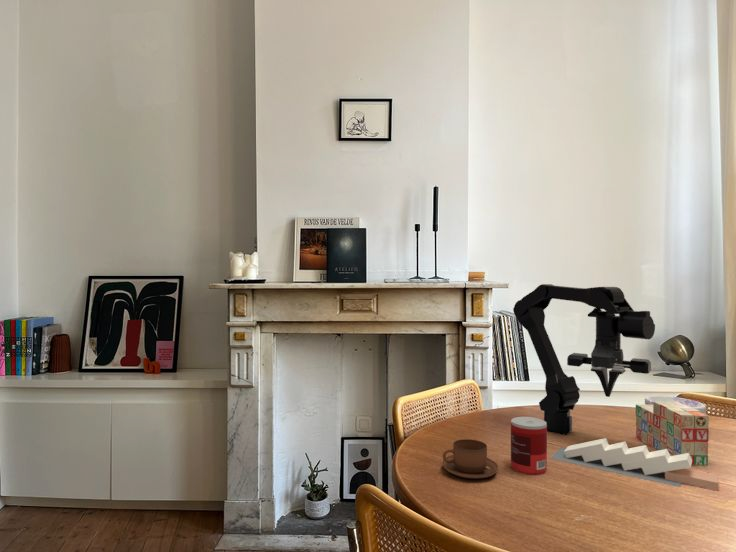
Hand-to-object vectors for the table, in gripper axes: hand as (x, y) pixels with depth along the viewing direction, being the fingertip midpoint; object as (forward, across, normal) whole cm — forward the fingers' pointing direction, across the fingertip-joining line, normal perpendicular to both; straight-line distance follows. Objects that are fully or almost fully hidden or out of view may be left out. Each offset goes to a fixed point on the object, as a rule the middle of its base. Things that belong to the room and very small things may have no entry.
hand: (607, 396), depth 124 cm
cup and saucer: (+13, -21, -37) cm, 44 cm away
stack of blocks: (+13, +13, +6) cm, 20 cm away
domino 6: (+12, +14, -14) cm, 23 cm away
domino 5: (+12, +10, -14) cm, 21 cm away
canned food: (+13, -11, -28) cm, 33 cm away
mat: (+13, +4, -14) cm, 20 cm away
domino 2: (+12, -2, -14) cm, 18 cm away
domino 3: (+12, +2, -14) cm, 18 cm away
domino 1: (+12, -6, -14) cm, 19 cm away
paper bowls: (+13, +12, +31) cm, 36 cm away
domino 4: (+12, +6, -14) cm, 19 cm away
